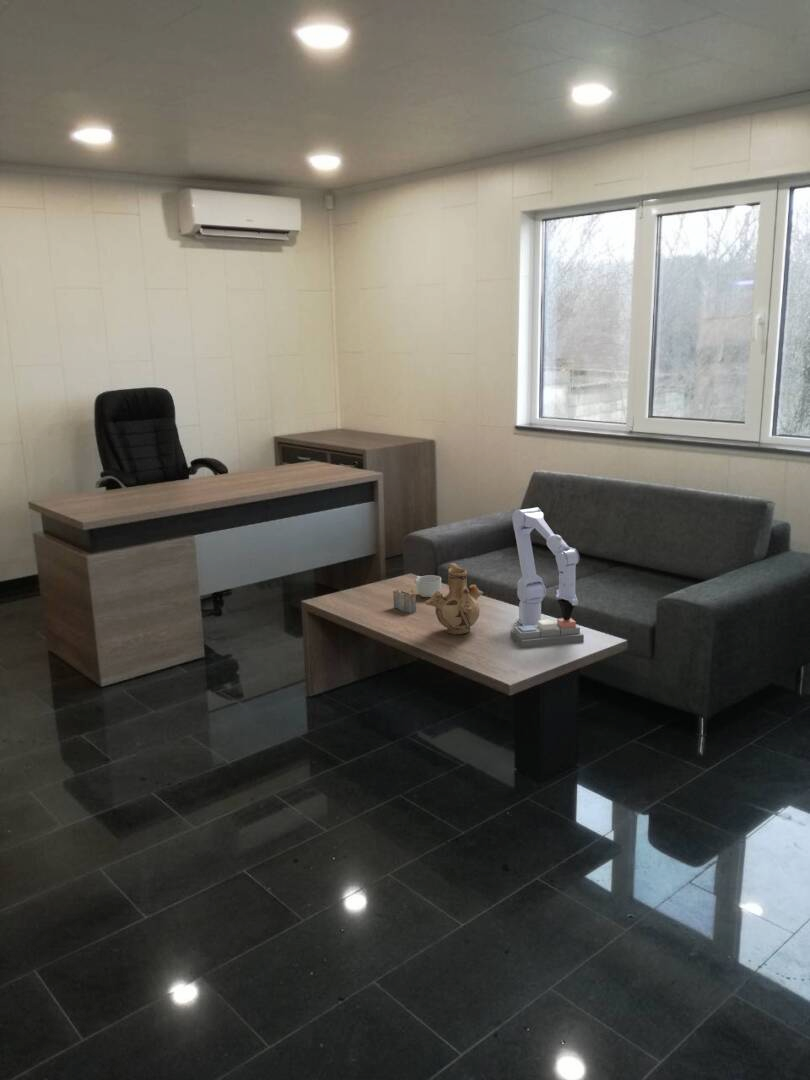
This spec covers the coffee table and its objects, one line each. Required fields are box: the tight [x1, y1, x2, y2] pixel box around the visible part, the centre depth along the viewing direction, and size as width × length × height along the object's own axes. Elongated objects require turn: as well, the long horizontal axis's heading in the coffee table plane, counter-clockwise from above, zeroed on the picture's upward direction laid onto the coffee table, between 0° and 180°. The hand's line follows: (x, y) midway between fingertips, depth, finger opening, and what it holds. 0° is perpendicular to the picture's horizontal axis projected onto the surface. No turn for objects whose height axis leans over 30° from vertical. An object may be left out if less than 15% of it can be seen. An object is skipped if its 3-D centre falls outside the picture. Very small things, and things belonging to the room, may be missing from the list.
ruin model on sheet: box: [392, 588, 417, 614], centre depth 346 cm, size 11×3×10 cm, turn 39°
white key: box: [538, 619, 557, 631], centre depth 306 cm, size 5×5×2 cm
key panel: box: [510, 622, 585, 649], centre depth 306 cm, size 12×23×4 cm, turn 103°
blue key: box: [517, 625, 536, 632], centre depth 304 cm, size 5×5×2 cm
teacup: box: [414, 574, 442, 598], centre depth 366 cm, size 14×11×8 cm
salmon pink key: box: [556, 617, 577, 629], centre depth 307 cm, size 5×5×2 cm
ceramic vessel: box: [424, 562, 484, 635], centre depth 316 cm, size 18×19×25 cm
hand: (566, 619), depth 307 cm, fingers closed
